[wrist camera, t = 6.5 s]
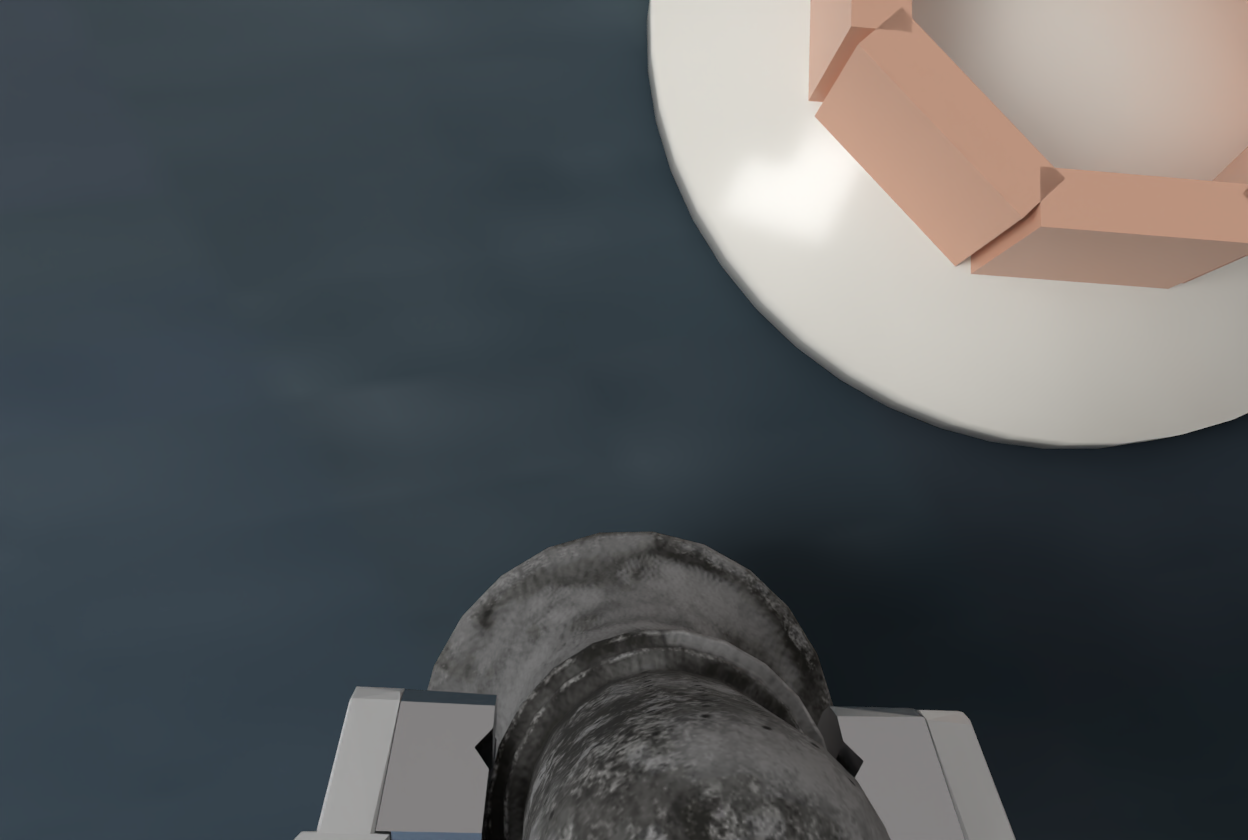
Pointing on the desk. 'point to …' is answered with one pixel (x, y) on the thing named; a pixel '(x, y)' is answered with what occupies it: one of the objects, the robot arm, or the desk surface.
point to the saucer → (890, 274)
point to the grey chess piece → (650, 700)
